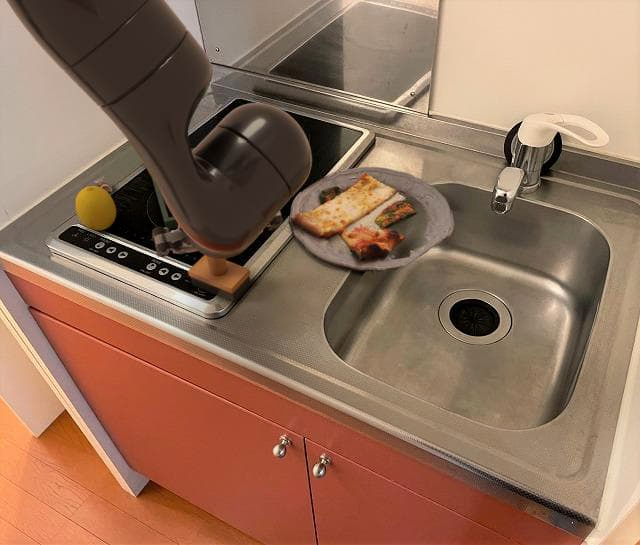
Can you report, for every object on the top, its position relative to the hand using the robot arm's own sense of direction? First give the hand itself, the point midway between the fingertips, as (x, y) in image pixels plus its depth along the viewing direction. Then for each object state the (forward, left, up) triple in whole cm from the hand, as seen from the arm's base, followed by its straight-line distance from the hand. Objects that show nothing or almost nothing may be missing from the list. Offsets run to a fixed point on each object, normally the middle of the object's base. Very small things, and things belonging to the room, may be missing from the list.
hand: (214, 237), depth 71 cm
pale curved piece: (-13, +30, -11) cm, 35 cm away
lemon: (-14, +21, -11) cm, 28 cm away
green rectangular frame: (+3, +26, -10) cm, 28 cm away
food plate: (+25, +7, -11) cm, 28 cm away
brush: (0, +2, -10) cm, 11 cm away
